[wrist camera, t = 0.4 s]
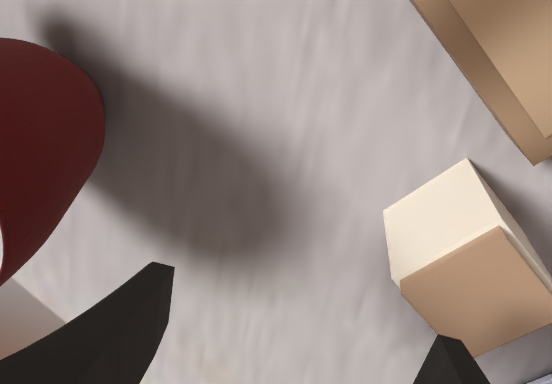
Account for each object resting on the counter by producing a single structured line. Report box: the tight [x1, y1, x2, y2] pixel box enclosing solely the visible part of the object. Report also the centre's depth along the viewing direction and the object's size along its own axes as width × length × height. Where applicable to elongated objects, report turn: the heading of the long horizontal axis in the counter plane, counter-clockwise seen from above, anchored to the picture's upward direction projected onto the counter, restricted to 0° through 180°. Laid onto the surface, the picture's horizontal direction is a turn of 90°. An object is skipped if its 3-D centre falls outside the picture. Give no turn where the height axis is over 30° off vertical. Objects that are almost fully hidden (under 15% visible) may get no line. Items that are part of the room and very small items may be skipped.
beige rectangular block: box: [383, 158, 552, 358], centre depth 19 cm, size 4×4×6 cm
